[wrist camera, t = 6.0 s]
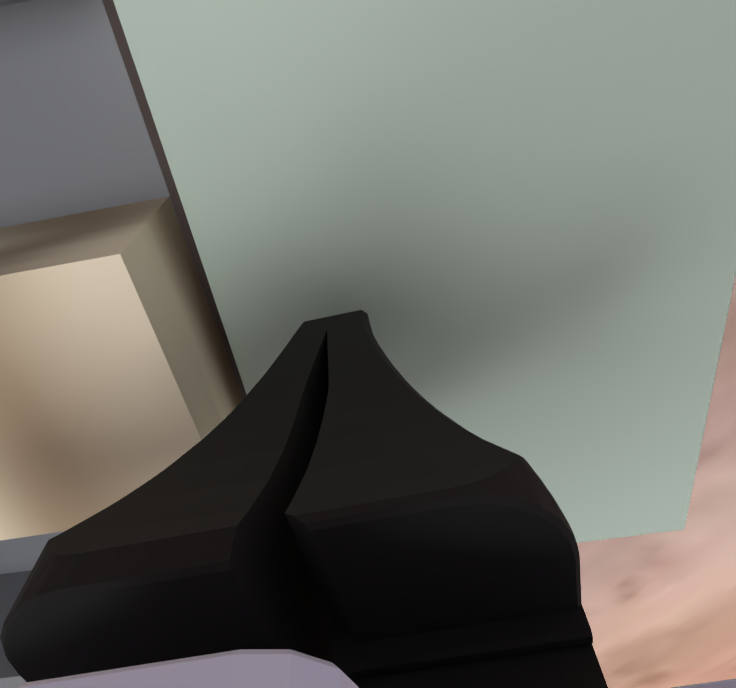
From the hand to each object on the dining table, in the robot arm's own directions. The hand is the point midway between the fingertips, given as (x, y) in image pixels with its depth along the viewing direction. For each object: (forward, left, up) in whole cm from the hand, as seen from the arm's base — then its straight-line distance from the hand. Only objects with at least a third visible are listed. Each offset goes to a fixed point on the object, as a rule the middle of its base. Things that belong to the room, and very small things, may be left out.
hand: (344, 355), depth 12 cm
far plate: (-3, 0, -2) cm, 4 cm away
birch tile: (+6, 0, -2) cm, 6 cm away
